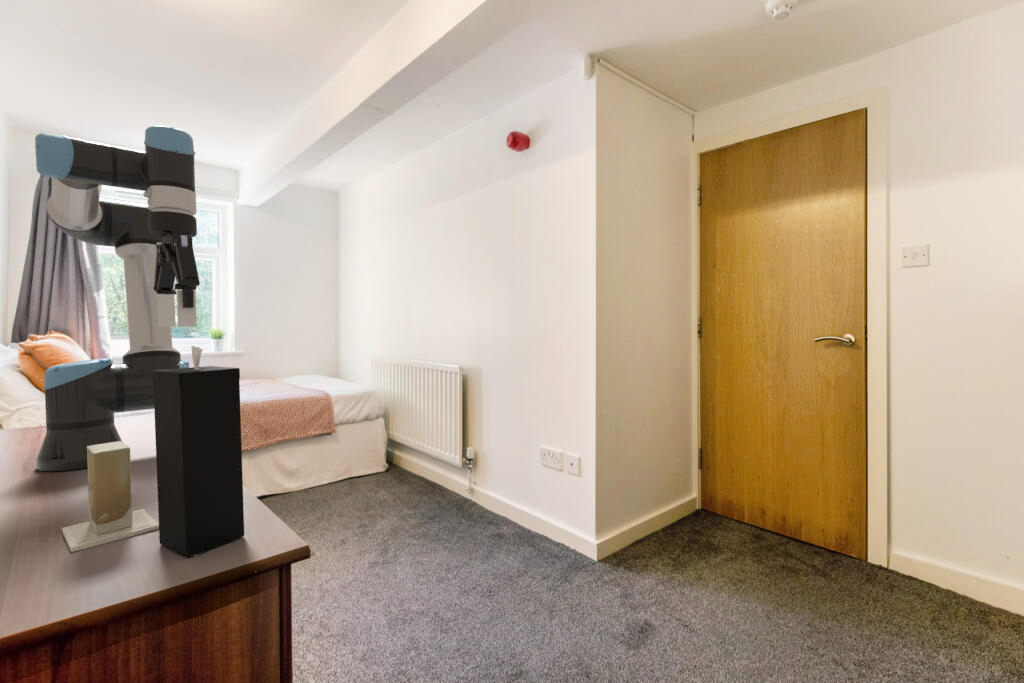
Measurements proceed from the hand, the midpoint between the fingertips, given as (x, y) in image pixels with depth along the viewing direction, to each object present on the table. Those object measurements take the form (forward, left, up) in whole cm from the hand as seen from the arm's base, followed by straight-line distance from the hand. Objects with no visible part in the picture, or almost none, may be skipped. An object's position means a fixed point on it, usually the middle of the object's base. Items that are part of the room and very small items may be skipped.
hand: (176, 327), depth 92 cm
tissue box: (+30, -5, -31) cm, 43 cm away
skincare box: (+15, -13, -30) cm, 36 cm away
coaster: (+15, -13, -31) cm, 37 cm away
